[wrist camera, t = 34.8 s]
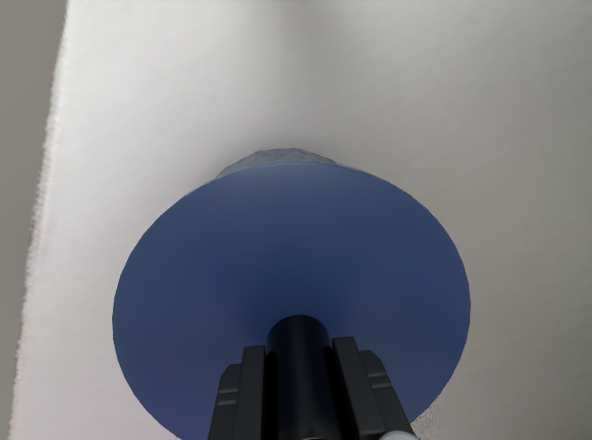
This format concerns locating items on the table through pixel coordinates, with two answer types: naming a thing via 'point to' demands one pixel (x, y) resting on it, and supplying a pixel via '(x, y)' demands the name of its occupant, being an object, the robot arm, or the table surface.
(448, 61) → the table surface
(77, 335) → the table surface
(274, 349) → the lid
